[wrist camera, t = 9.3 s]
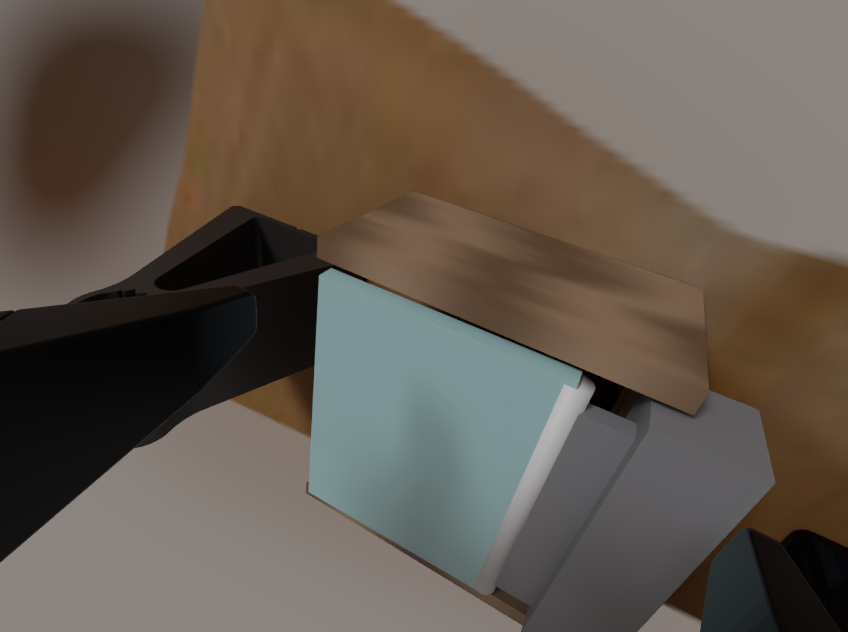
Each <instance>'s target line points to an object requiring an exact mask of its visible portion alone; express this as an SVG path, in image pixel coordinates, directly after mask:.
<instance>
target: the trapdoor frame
mask: <svg viewBox="0 0 848 632" xmlns="http://www.w3.org/2000/svg"><path fill="white" fill-rule="evenodd" d="M317 258H319V259H321V260H324V261H326V262H329V263H331V264H333V265H336V266H338V267H341V268H343V269H345V270H348V271H350V272H352V273H355V274H357V275H360V276H362V277H364V278H367V279H369V280H372V281H374V282H376V283H379V284H381V285H384V286H386V287H388V288H391V289H393V290H395V291H398V292H400V293H403V294H405V295H407V296H410V297H412V298H415V299H417V300H419V301H422V302H424V303H426V304H429V305H431V306H434V307H436V308H438V309H441V310H443V311H446V312H448V313H450V314H453V315H455V316H457V317H460V318H462V319H465V320H467V321H469V322H472V323H474V324H477V325H479V326H481V327H484V328H486V329H489V330H491V331H493V332H496V333H498V334H500V335H503V336H505V337H508V338H510V339H512V340H515V341H517V342H520V343H522V344H524V345H527V346H529V347H531V348H534V349H536V350H539V351H541V352H543V353H546V354H548V355H551V356H553V357H555V358H558V359H560V360H563V361H565V362H567V363H570V364H572V365H574V366H577V367H579V368H582V369H584V370H586V371H589V372H591V373H594V374H596V375H598V376H601V377H603V378H605V379H608V380H610V381H613V382H615V383H617V384H620V385H622V386H624V388H623V389H622V391H621V393H620V395H619V397H618V399H617V400H616V402H615V404H614V406H613V408H612V410H611V411H610V412H611V413H613V414H615V415H618V416H620V417H622V418H625V419H626V417H627V415H628V413H629V412H630V410H631V408H632V406H633V405H634V403H635V401H636V399H637V398H638V396H639V394H640V393H641V394H644V395H646V396H648V397H651V398H653V399H656V400H658V401H660V402H663V403H665V404H668V405H670V406H672V407H675V408H677V409H679V410H682V411H684V412H687V413H689V414H691V415H695V414H696V412H697V411H698V409H699V408H700V406H701V405H702V403H703V402H704V400H705V399H706V398H707V396H708V395H709V383H708V365H707V347H706V329H705V311H704V293H703V289H700V288H698V287H695V286H692V285H689V284H686V283H683V282H680V281H677V280H674V279H671V278H668V277H665V276H662V275H659V274H656V273H653V272H651V271H648V270H645V269H642V268H639V267H636V266H633V265H630V264H627V263H624V262H621V261H618V260H615V259H612V258H609V257H606V256H603V255H601V254H598V253H595V252H592V251H589V250H586V249H583V248H580V247H577V246H574V245H571V244H568V243H565V242H562V241H559V240H556V239H553V238H551V237H548V236H545V235H542V234H539V233H536V232H533V231H530V230H527V229H524V228H521V227H518V226H515V225H512V224H509V223H506V222H503V221H501V220H498V219H495V218H492V217H489V216H486V215H483V214H480V213H477V212H474V211H471V210H468V209H465V208H462V207H459V206H456V205H453V204H451V203H448V202H445V201H442V200H439V199H436V198H433V197H430V196H427V195H424V194H421V193H418V192H415V191H413V192H411V193H409V194H407V195H405V196H403V197H401V198H398V199H396V200H394V201H392V202H390V203H388V204H386V205H384V206H381V207H379V208H377V209H375V210H373V211H371V212H369V213H367V214H364V215H362V216H360V217H358V218H356V219H354V220H352V221H350V222H347V223H345V224H343V225H341V226H339V227H337V228H335V229H333V230H330V231H328V232H326V233H324V234H322V235H320V236H318V240H317ZM308 489H309V481H308V482H307V485H306V493H307V494H309V495H310V496H312V497H313V498H315V499H317V500H319V501H320V502H322V503H323V504H325V505H327V506H328V507H330V508H331V509H333V510H335V511H336V512H338V513H340V514H341V515H343V516H345V517H346V518H348V519H349V520H351V521H353V522H354V523H356V524H358V525H359V526H361V527H363V528H364V529H366V530H367V531H369V532H371V533H372V534H374V535H376V536H377V537H379V538H381V539H382V540H384V541H385V542H387V543H389V544H391V545H392V546H394V547H395V548H397V549H399V550H400V551H402V552H403V553H405V554H407V555H408V556H410V557H412V558H413V559H415V560H417V561H418V562H420V563H422V564H423V565H425V566H426V567H428V568H430V569H431V570H433V571H435V572H436V573H438V574H440V575H441V576H443V577H444V578H446V579H448V580H450V581H451V582H453V583H454V584H456V585H458V586H459V587H461V588H463V589H464V590H466V591H467V592H469V593H471V594H472V595H474V596H475V597H477V598H479V599H480V600H482V601H484V602H485V603H487V604H489V605H490V606H492V607H493V608H495V609H497V610H498V611H500V612H502V613H503V614H505V615H507V616H508V617H510V618H511V619H513V620H515V621H516V622H518V623H520V624H521V625H523V623H524V620H525V616H526V612H527V609H528V604H526V603H524V602H522V601H521V600H519V599H517V598H515V597H514V596H512V595H510V594H508V593H507V592H505V591H503V590H501V589H500V588H498V587H496V588H495V590H494V592H493V593H492V594H490V595H483V594H480V593H479V592H478V591H477V590H475V589H473V588H472V587H470V586H468V585H467V584H465V583H463V582H462V581H460V580H458V579H456V578H455V577H453V576H451V575H450V574H448V573H446V572H444V571H443V570H441V569H439V568H438V567H436V566H434V565H432V564H431V563H429V562H427V561H426V560H424V559H422V558H420V557H419V556H417V555H415V554H414V553H412V552H410V551H409V550H407V549H405V548H403V547H402V546H400V545H398V544H397V543H395V542H393V541H391V540H390V539H388V538H386V537H385V536H383V535H381V534H379V533H378V532H376V531H374V530H373V529H371V528H369V527H368V526H366V525H364V524H362V523H361V522H359V521H357V520H356V519H354V518H352V517H350V516H349V515H347V514H345V513H344V512H342V511H340V510H338V509H337V508H335V507H333V506H332V505H330V504H328V503H326V502H325V501H323V500H321V499H320V498H318V497H316V496H315V495H313V494H311V493H309V492H308Z"/></svg>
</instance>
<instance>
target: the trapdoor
mask: <svg viewBox="0 0 848 632" xmlns="http://www.w3.org/2000/svg"><path fill="white" fill-rule="evenodd" d="M594 391H595V385H594V383H593V382H592V380H591V379H589V378H588V377H587V376H585V375H583V374H582V371H581V370H579V369H576V368H574V367H571V366H569V365H567V364H564V363H562V362H559V361H557V360H554V359H552V358H550V357H547V356H545V355H542V354H540V353H537V352H535V351H532V350H530V349H528V348H525V347H523V346H520V345H518V344H515V343H513V342H510V341H508V340H506V339H503V338H501V337H498V336H496V335H493V334H491V333H489V332H486V331H484V330H481V329H479V328H476V327H474V326H471V325H469V324H467V323H464V322H462V321H459V320H457V319H454V318H452V317H449V316H447V315H445V314H442V313H440V312H437V311H435V310H432V309H430V308H427V307H425V306H423V305H420V304H418V303H415V302H413V301H410V300H408V299H406V298H403V297H401V296H398V295H396V294H393V293H391V292H388V291H386V290H384V289H381V288H379V287H376V286H374V285H371V284H369V283H366V282H364V281H362V280H359V279H357V278H354V277H352V276H349V275H347V274H345V273H342V272H340V271H337V270H335V269H332V268H330V269H329V270H327V271H325V272H324V273H322V274H320V275H319V286H318V306H317V327H316V347H315V367H314V388H313V408H312V428H311V450H310V469H309V470H310V471H309V489H308V492H309V493H311V494H313V495H315V496H316V497H318V498H320V499H321V500H323V501H325V502H326V503H328V504H330V505H332V506H333V507H335V508H337V509H338V510H340V511H342V512H344V513H345V514H347V515H349V516H350V517H352V518H354V519H356V520H357V521H359V522H361V523H362V524H364V525H366V526H368V527H369V528H371V529H373V530H374V531H376V532H378V533H379V534H381V535H383V536H385V537H386V538H388V539H390V540H391V541H393V542H395V543H397V544H398V545H400V546H402V547H403V548H405V549H407V550H409V551H410V552H412V553H414V554H415V555H417V556H419V557H420V558H422V559H424V560H426V561H427V562H429V563H431V564H432V565H434V566H436V567H438V568H439V569H441V570H443V571H444V572H446V573H448V574H450V575H451V576H453V577H455V578H456V579H458V580H460V581H462V582H463V583H465V584H467V585H468V586H470V587H472V588H473V589H475V590H477V591H478V592H479V593H480V594H483V595H490V594H492V593H493V592H494V590H495V588H496V587H498V588H500V589H501V590H503V591H505V592H507V593H508V594H510V595H512V596H514V597H515V598H517V599H519V600H521V601H522V602H524V603H526V604H528V609H527V612H526V616H525V620H524V623H523V627H522V630H521V632H637V631H638V630H639V629H640V628H641V627H642V626H643V625H644V624H645V623H646V622H647V621H648V620H649V618H650V617H651V616H652V615H653V614H654V613H655V612H656V611H657V610H658V609H659V608H660V607H661V606H662V605H663V603H664V602H665V601H666V600H667V599H668V598H669V597H670V596H671V595H672V594H673V593H674V592H675V591H676V590H677V588H678V587H679V586H680V585H681V584H682V583H683V582H684V581H685V580H686V579H687V578H688V577H689V576H690V574H691V573H692V572H693V571H694V570H695V569H696V568H697V567H698V566H699V565H700V564H701V563H702V562H703V561H704V559H705V558H706V557H707V556H708V555H709V554H710V553H711V552H712V551H713V550H714V549H715V548H716V547H717V546H718V544H719V543H720V542H721V541H722V540H723V539H724V538H725V537H726V536H727V535H728V534H729V533H730V532H731V530H732V529H733V528H734V527H735V526H736V525H737V524H738V523H739V522H740V521H741V520H742V519H743V518H744V517H745V515H746V514H747V513H748V512H749V511H750V510H751V509H752V508H753V507H754V506H755V505H756V504H757V503H758V502H759V500H760V499H761V498H762V497H763V496H764V495H765V494H766V493H767V492H768V491H769V490H770V489H771V488H772V487H773V485H774V484H775V479H774V474H773V470H772V466H771V461H770V457H769V452H768V448H767V443H766V439H765V435H764V430H763V426H762V421H761V417H760V412H759V410H758V409H756V408H753V407H751V406H748V405H746V404H743V403H740V402H738V401H735V400H733V399H730V398H728V397H725V396H722V395H720V394H717V393H715V392H712V391H710V390H709V395H708V396H707V398H706V399H705V400H704V402H703V403H702V405H701V406H700V408H699V409H698V411H697V412H696V414H695V415H691V414H689V413H687V412H684V411H682V410H679V409H677V408H675V407H672V406H670V405H668V404H665V403H663V402H660V401H658V400H656V399H653V398H651V397H648V396H646V395H644V394H641V393H640V394H639V396H638V398H637V399H636V401H635V403H634V405H633V406H632V408H631V410H630V412H629V413H628V415H627V417H626V419H625V418H622V417H620V416H618V415H615V414H613V413H611V412H608V411H606V410H604V409H601V408H599V407H597V406H594V405H592V404H590V403H589V401H590V399H591V397H592V395H593V393H594Z"/></svg>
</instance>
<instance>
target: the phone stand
mask: <svg viewBox="0 0 848 632" xmlns="http://www.w3.org/2000/svg"><path fill="white" fill-rule="evenodd" d="M317 240H318V236H317V235H315V234H312V233H309V232H307V231H304V230H302V229H301V230H297V229H296V227H294V226H291V225H288V224H286V223H283V222H281V221H278V220H275V219H273V218H270V217H267V216H265V215H262V214H260V213H257V212H254V211H252V210H249V209H246V208H244V207H241V206H232V207H230V208H229V209H227V210H226V211H224V212H223V213H221V214H220V215H219V216H217V217H216V218H214V219H213V220H211V221H210V222H208V223H207V224H206V225H204V226H203V227H201V228H200V229H198V230H197V231H195V232H194V233H193V234H191V235H190V236H188V237H187V238H185V239H184V240H182V241H181V242H180V243H178V244H177V245H175V246H174V247H172V248H171V249H169V250H168V251H167V252H165V253H164V254H162V255H161V256H159V257H158V258H156V259H155V260H154V261H152V262H151V263H149V264H148V265H146V266H145V267H143V268H142V269H141V270H139V271H138V272H136V273H135V274H133V275H132V276H130V277H129V278H127V279H125V280H123V281H121V282H119V283H117V284H115V285H112V286H110V287H107V288H104V289H101V290H97V291H94V292H90V293H88V294H84V295H82V296H80V297H78V298H76V299H74V300H72V301H71V302H69V303H68V304H73V303H82V302H91V301H100V300H109V299H118V298H127V297H136V296H144V295H153V294H162V293H171V292H180V291H189V290H198V289H207V288H215V287H224V286H240V287H242V288H244V289H246V290H248V291H250V292H252V293H253V294H254V295H255V297H256V308H257V329H256V332H255V334H254V336H253V337H252V339H251V340H250V341H249V342H248V343H247V344H246V345H245V346H244V347H243V348H242V349H241V350H240V351H239V352H238V353H237V354H236V355H235V356H234V357H233V358H232V359H231V360H230V361H229V363H228V364H227V365H226V366H225V367H224V368H223V369H222V370H221V371H220V372H219V373H218V374H217V375H216V376H215V377H214V378H213V379H212V380H211V381H210V382H209V383H208V384H207V385H206V386H205V387H204V388H203V389H202V390H201V391H200V392H199V393H198V394H197V395H195V396H194V397H193V398H192V399H191V400H190V401H189V402H187V403H186V404H185V405H184V406H183V407H182V408H180V409H179V410H178V411H177V412H176V413H175V414H173V415H172V416H171V417H170V418H169V419H168V420H166V421H165V422H164V423H163V424H162V425H161V426H159V427H158V428H157V429H156V430H155V431H154V432H152V433H151V434H150V435H149V436H148V437H147V438H145V439H144V440H143V441H142V442H141V443H139V444H138V445H137V446H136V447H135V448H137V447H142V446H145V445H148V444H151V443H153V442H155V441H157V440H159V439H160V438H162V437H163V436H165V435H166V434H167V433H168V432H169V431H171V430H172V429H173V428H174V427H175V426H176V425H177V424H179V423H180V422H182V421H183V420H184V419H186V418H188V417H189V416H191V415H193V414H195V413H197V412H199V411H201V410H204V409H206V408H209V407H211V406H213V405H216V404H219V403H221V402H224V401H226V400H229V399H231V398H234V397H236V396H239V395H241V394H244V393H246V392H249V391H251V390H254V389H256V388H259V387H261V386H264V385H266V384H269V383H271V382H274V381H276V380H279V379H281V378H284V377H286V376H289V375H291V374H294V373H296V372H299V371H301V370H304V369H306V368H309V367H311V366H314V365H315V347H316V327H317V306H318V286H319V275H320V274H322V273H324V272H325V271H327V270H329V269H330V268H332V269H335V270H337V271H340V272H342V273H345V274H347V275H349V276H352V277H354V278H357V279H359V280H362V281H363V277H362V276H360V275H357V274H355V273H352V272H350V271H348V270H345V269H343V268H341V267H338V266H336V265H333V264H331V263H329V262H326V261H324V260H321V259H319V258H317Z"/></svg>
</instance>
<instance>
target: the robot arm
mask: <svg viewBox="0 0 848 632" xmlns="http://www.w3.org/2000/svg"><path fill="white" fill-rule="evenodd" d="M256 329H257V308H256V297H255V295H254V294H253V293H252V292H250V291H248V290H246V289H244V288H242V287H240V286H224V287H215V288H207V289H198V290H189V291H180V292H171V293H162V294H153V295H144V296H136V297H127V298H118V299H109V300H100V301H91V302H82V303H73V304H65V305H56V306H47V307H38V308H29V309H20V310H17V311H12V310H10V311H2V312H0V562H1V561H3V560H4V559H5V558H6V557H7V556H8V555H9V554H11V553H12V552H13V551H14V550H16V549H17V548H18V547H19V546H20V545H21V544H22V543H24V542H25V541H26V540H27V539H28V538H30V537H31V536H32V535H33V534H34V533H35V532H37V531H38V530H39V529H40V528H41V527H42V526H44V525H45V524H46V523H47V522H48V521H49V520H51V518H53V517H54V516H55V515H56V514H57V513H59V512H60V511H61V510H62V509H63V508H64V507H66V506H67V505H68V504H69V503H70V502H71V501H73V500H74V499H75V498H76V497H77V496H78V495H80V494H81V493H82V492H83V491H84V490H85V489H87V488H88V487H89V486H90V485H91V484H93V483H94V482H95V481H96V480H97V479H98V478H100V477H101V476H102V475H103V474H104V473H105V472H107V471H108V470H109V469H110V468H111V467H112V466H114V465H115V464H116V463H117V462H118V461H120V460H121V459H122V458H123V457H124V456H125V455H127V454H128V453H129V452H130V451H131V450H132V449H134V448H135V447H136V446H137V445H138V444H139V443H141V442H142V441H143V440H144V439H145V438H147V437H148V436H149V435H150V434H151V433H152V432H154V431H155V430H156V429H157V428H158V427H159V426H161V425H162V424H163V423H164V422H165V421H166V420H168V419H169V418H170V417H171V416H172V415H173V414H175V413H176V412H177V411H178V410H179V409H180V408H182V407H183V406H184V405H185V404H186V403H187V402H189V401H190V400H191V399H192V398H193V397H194V396H195V395H197V394H198V393H199V392H200V391H201V390H202V389H203V388H204V387H205V386H206V385H207V384H208V383H209V382H210V381H211V380H212V379H213V378H214V377H215V376H216V375H217V374H218V373H219V372H220V371H221V370H222V369H223V368H224V367H225V366H226V365H227V364H228V363H229V361H230V360H231V359H232V358H233V357H234V356H235V355H236V354H237V353H238V352H239V351H240V350H241V349H242V348H243V347H244V346H245V345H246V344H247V343H248V342H249V341H250V340H251V339H252V337H253V336H254V334H255V332H256ZM803 542H810V543H803ZM700 632H848V548H847V547H844V546H842V545H840V544H838V543H836V542H834V541H831V540H829V539H827V538H825V537H823V536H820V535H818V534H816V533H814V532H811V531H808V530H796V531H794V532H792V533H791V534H790V535H789V536H788V537H787V538H786V539H785V540H784V541H783V542H782V543H779V542H778V541H777V540H775V539H773V538H771V537H769V536H767V535H765V534H763V533H761V532H759V531H757V530H754V529H752V528H743V529H741V530H740V531H739V532H738V533H737V534H736V535H735V536H734V537H733V538H732V539H731V540H730V541H729V542H728V543H727V544H726V545H725V546H724V547H723V548H722V549H721V550H720V551H719V553H718V554H717V555H716V556H715V557H714V559H713V561H712V563H711V565H710V569H709V574H708V581H707V588H706V595H705V602H704V609H703V616H702V623H701V630H700Z"/></svg>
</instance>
